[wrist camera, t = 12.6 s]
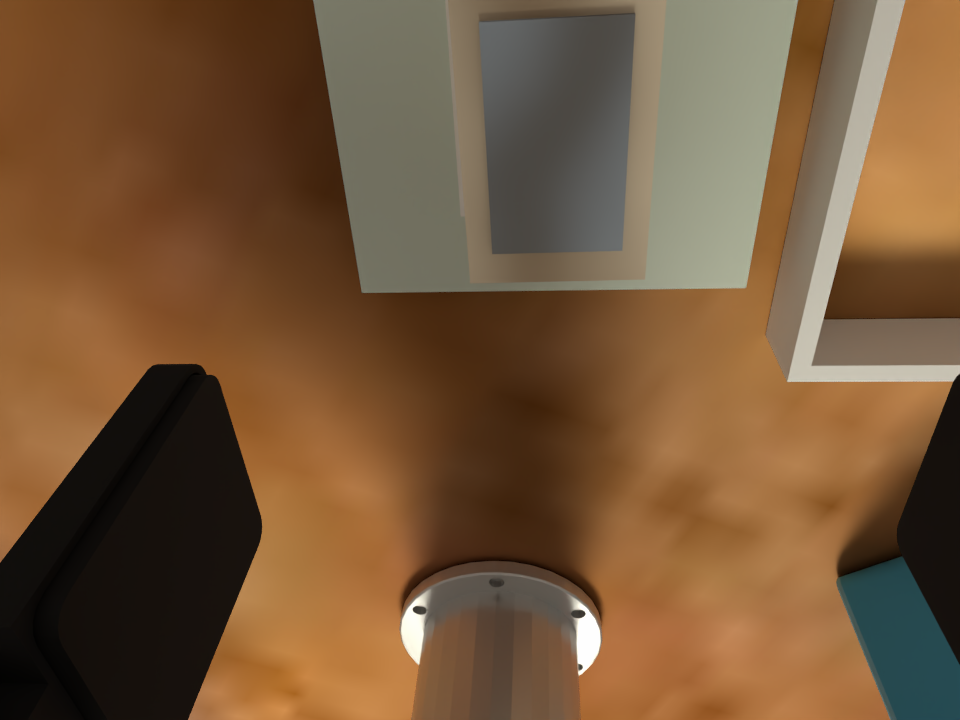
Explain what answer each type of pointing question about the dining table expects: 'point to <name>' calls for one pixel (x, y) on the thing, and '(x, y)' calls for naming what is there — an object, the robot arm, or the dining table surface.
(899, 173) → the dining table surface
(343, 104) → the sage board
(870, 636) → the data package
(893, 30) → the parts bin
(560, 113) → the beech box
